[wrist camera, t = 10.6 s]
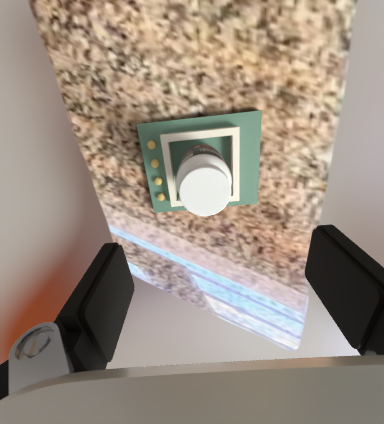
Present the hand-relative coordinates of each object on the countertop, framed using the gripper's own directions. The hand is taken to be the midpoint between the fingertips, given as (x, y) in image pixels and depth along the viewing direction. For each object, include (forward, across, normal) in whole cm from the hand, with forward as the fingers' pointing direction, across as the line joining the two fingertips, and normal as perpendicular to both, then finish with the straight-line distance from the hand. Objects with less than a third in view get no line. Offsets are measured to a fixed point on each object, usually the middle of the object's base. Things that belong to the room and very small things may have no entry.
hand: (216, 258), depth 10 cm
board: (+20, 0, 0) cm, 20 cm away
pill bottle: (+19, 0, 0) cm, 19 cm away
